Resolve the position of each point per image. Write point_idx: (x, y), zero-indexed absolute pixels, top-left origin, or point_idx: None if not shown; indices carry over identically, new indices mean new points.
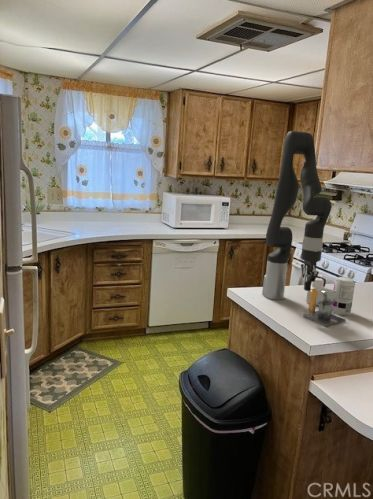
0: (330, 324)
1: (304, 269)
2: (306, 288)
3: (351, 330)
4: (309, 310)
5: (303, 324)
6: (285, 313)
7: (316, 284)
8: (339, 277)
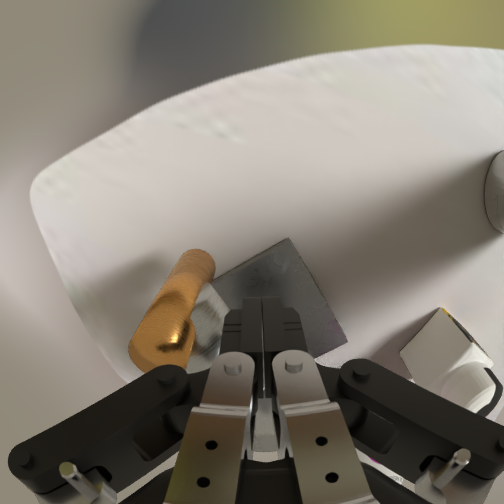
0: None
1: (314, 484)
2: (235, 315)
3: None
4: (182, 257)
5: (190, 208)
6: (331, 160)
7: (462, 387)
8: None
